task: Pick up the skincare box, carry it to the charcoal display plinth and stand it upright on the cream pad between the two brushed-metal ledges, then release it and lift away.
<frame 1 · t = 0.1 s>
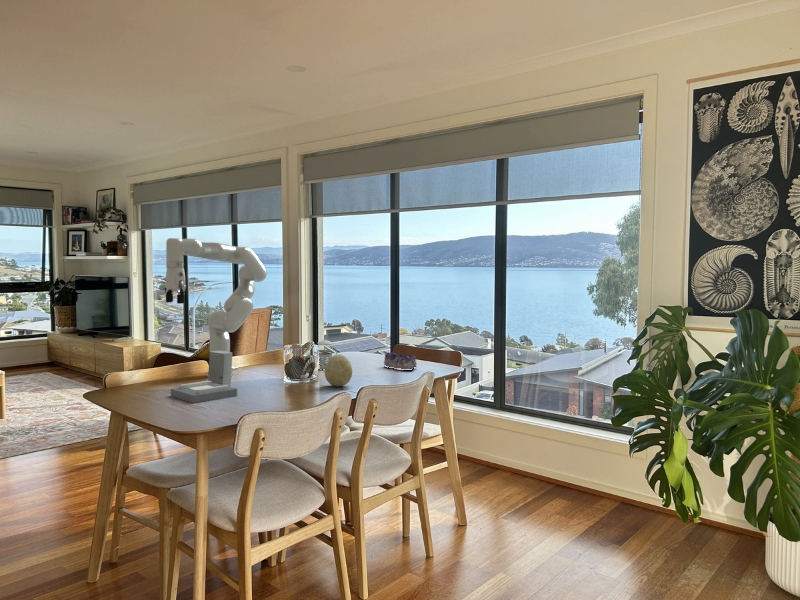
hand: (174, 302, 283), 37 cm above the table, fingers open, 9 cm apart
french press: (326, 369, 331), on the table
skincare box: (220, 386, 279), on the table
geode: (399, 369, 337), on the table
fossilized egg: (338, 387, 285), on the table
display plinth: (204, 395, 258), on the table
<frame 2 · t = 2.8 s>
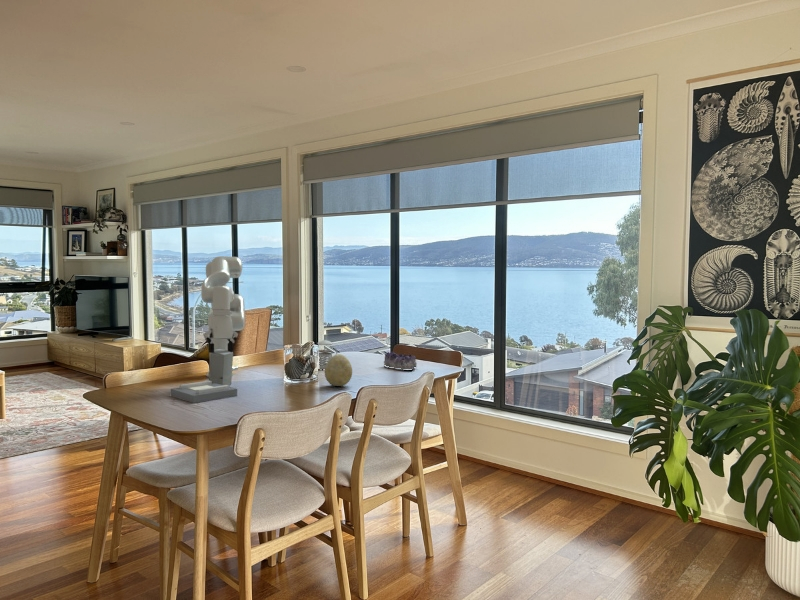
hand: (221, 352, 275), 16 cm above the table, fingers open, 9 cm apart
skincare box: (220, 385, 279), on the table, touching gripper
everything else where it was.
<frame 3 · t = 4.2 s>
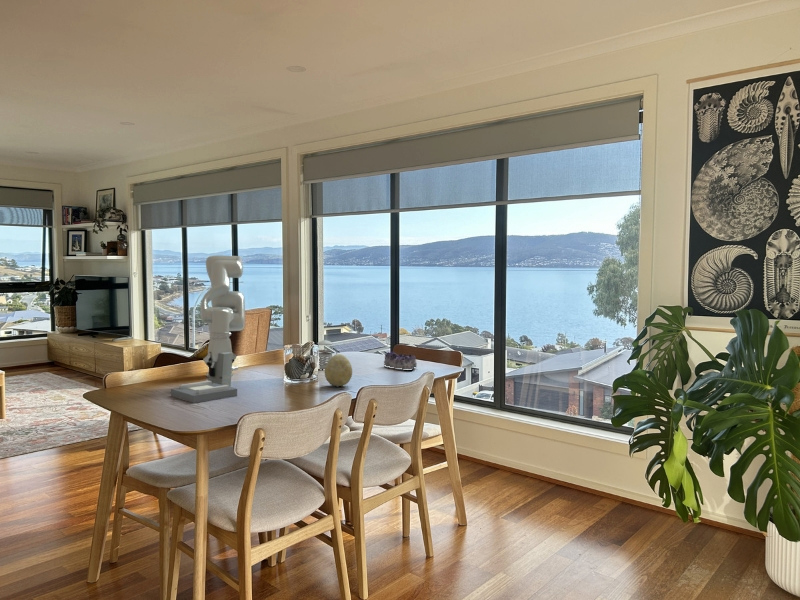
hand: (220, 374, 278), 5 cm above the table, fingers closed on skincare box, 7 cm apart
skincare box: (220, 386, 279), on the table, touching gripper
everything else where it was.
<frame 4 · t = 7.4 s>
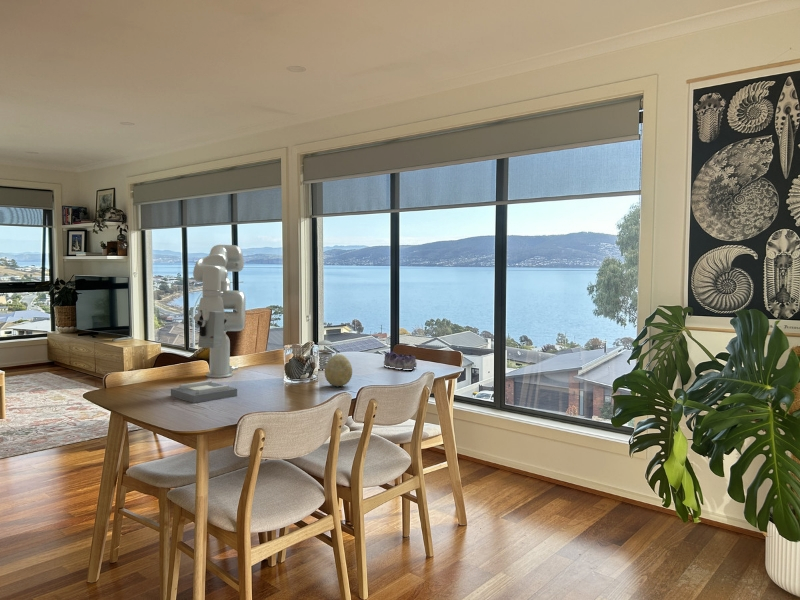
hand: (211, 335, 265), 25 cm above the table, fingers closed on skincare box, 7 cm apart
skincare box: (211, 347, 265), point 19 cm above the table, touching gripper
everything else where it was.
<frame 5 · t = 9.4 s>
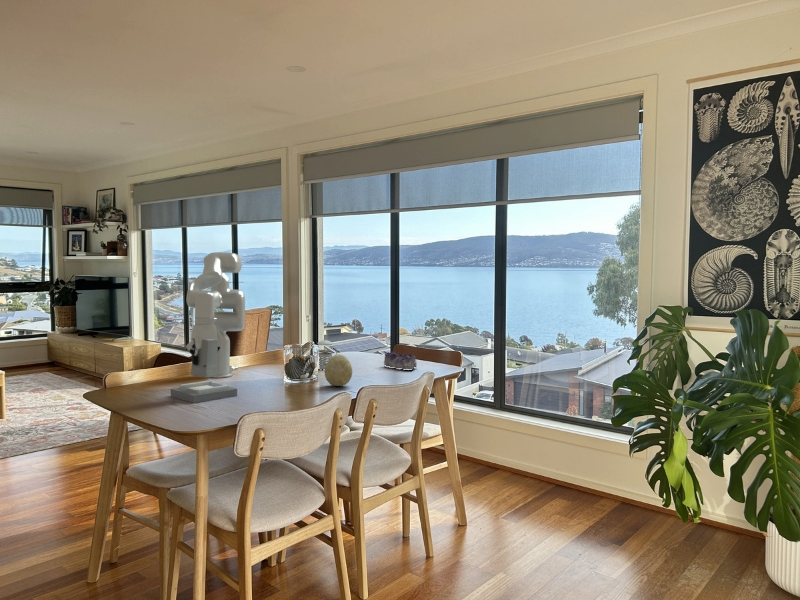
hand: (204, 363, 257), 14 cm above the table, fingers closed on skincare box, 7 cm apart
skincare box: (204, 376, 258), point 8 cm above the table, touching gripper
everything else where it was.
when the fingers open (10 cm above the table, at t = 10.7 s): skincare box drops 1 cm, resting on display plinth.
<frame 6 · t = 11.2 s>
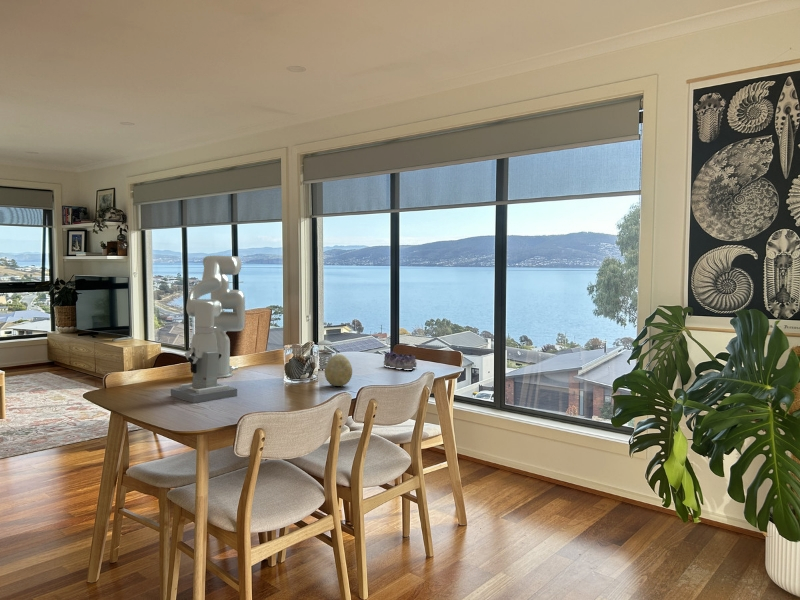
hand: (204, 371, 258), 10 cm above the table, fingers open, 9 cm apart
skincare box: (205, 388, 259), point 3 cm above the table, touching display plinth
everything else where it was.
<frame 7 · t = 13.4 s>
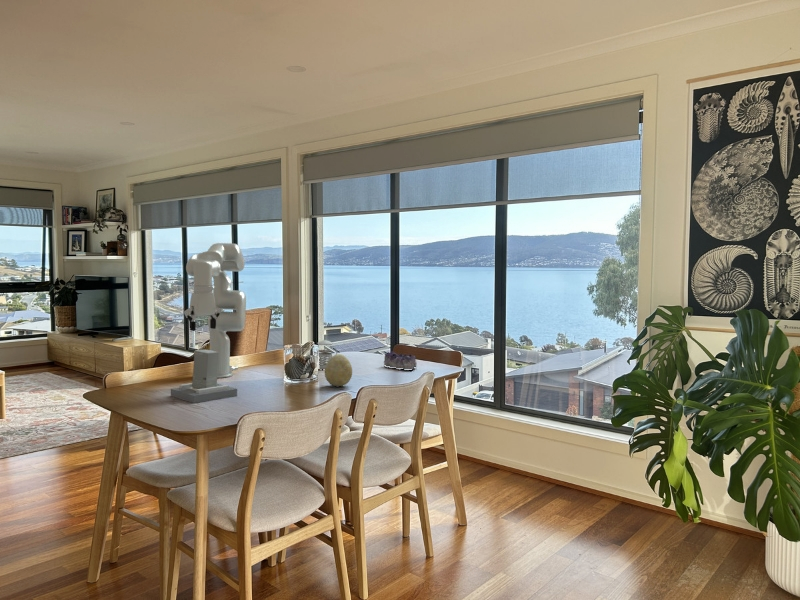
hand: (203, 329, 265), 27 cm above the table, fingers open, 9 cm apart
nothing on the table moved.
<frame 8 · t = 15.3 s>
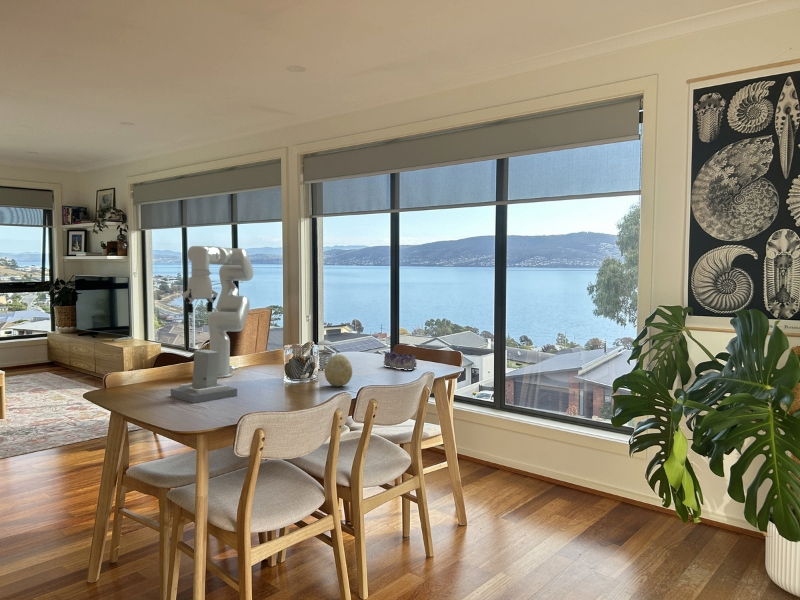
hand: (200, 312, 277), 33 cm above the table, fingers open, 9 cm apart
at the end: skincare box 0.6 cm off-centre on the display plinth, point 3.0 cm above the display plinth's base; skincare box tilted 0°; the gripper is holding nothing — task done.
